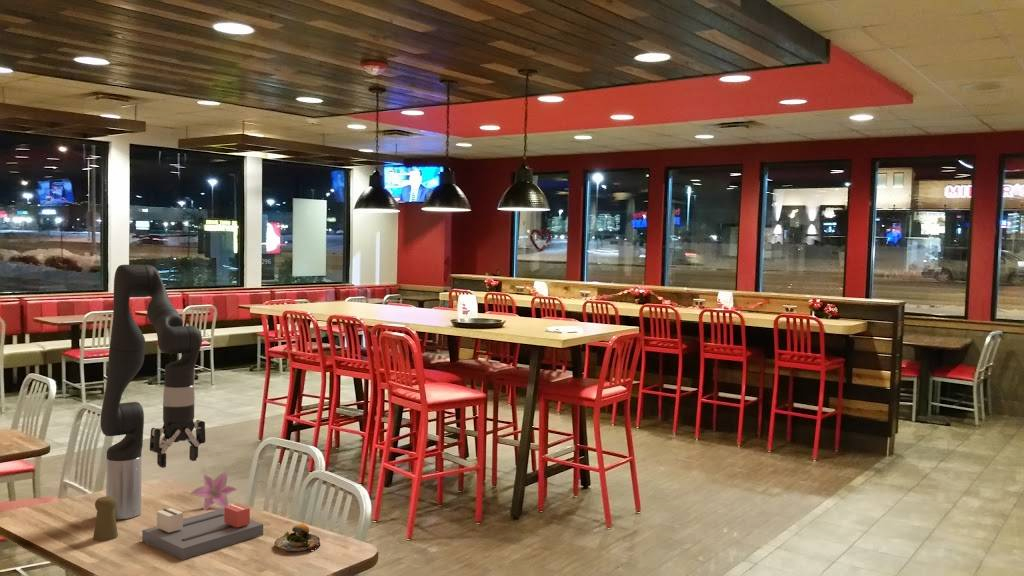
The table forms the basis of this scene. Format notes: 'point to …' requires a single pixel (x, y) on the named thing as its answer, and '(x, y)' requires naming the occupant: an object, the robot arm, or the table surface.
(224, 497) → the lily
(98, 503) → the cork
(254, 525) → the console
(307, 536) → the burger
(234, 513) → the block
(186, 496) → the table surface
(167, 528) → the block
